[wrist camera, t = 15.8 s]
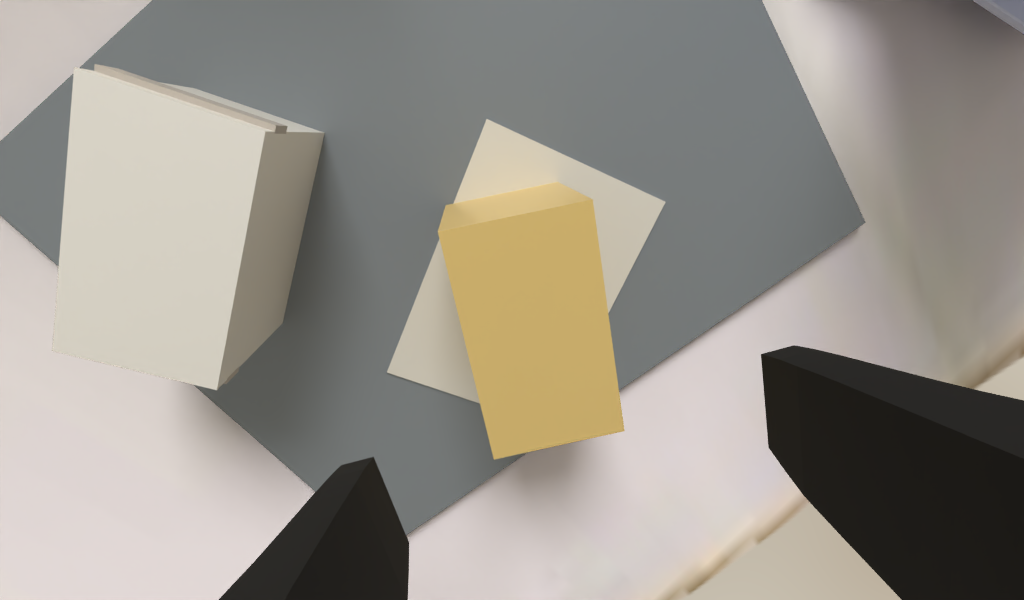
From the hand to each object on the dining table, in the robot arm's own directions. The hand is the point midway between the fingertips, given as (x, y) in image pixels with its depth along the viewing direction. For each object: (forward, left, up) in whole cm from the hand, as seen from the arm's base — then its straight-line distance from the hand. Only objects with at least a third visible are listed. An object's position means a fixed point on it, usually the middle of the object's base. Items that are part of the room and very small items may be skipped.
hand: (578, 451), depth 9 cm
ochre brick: (0, 0, -10) cm, 10 cm away
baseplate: (+3, -2, -10) cm, 11 cm away
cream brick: (+10, +1, -10) cm, 14 cm away
